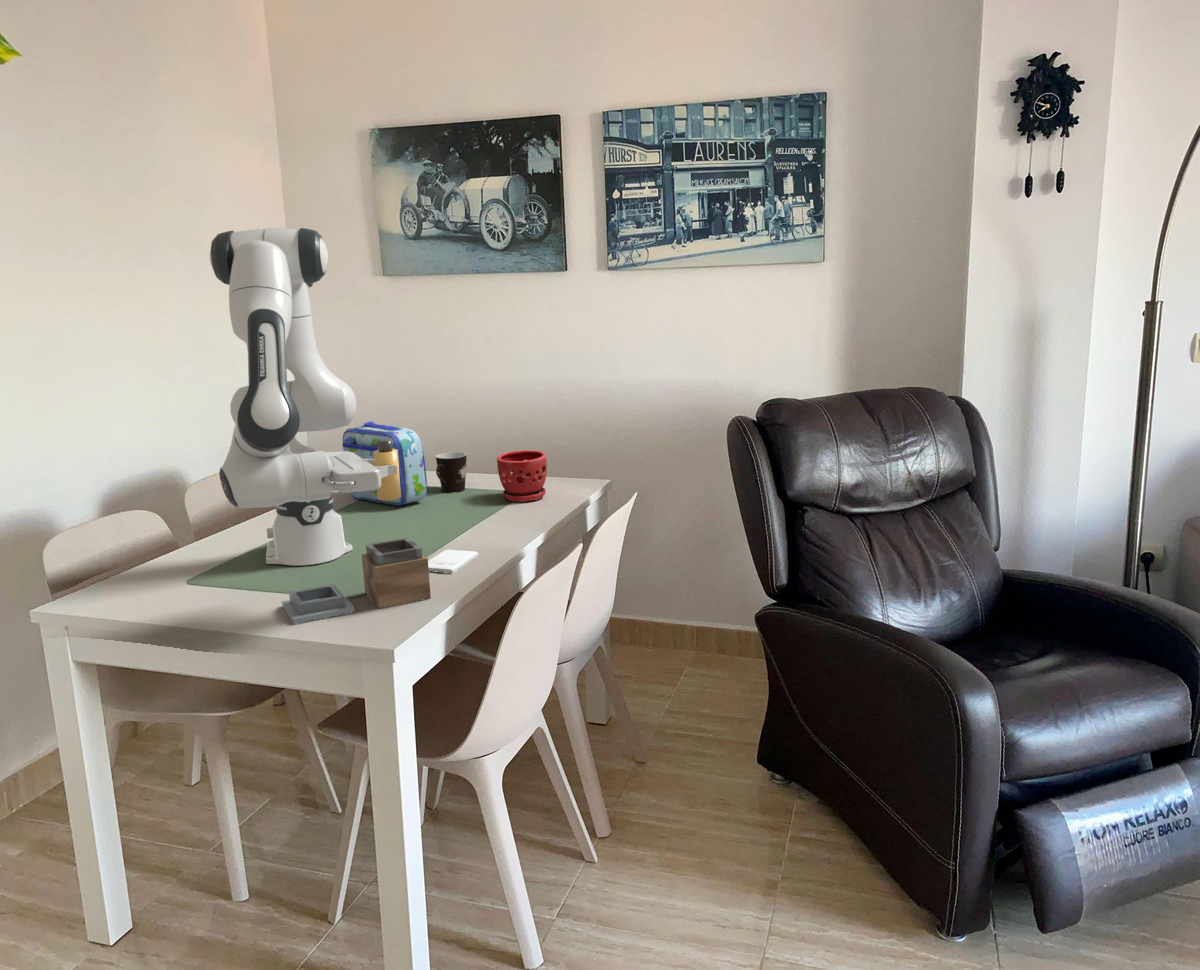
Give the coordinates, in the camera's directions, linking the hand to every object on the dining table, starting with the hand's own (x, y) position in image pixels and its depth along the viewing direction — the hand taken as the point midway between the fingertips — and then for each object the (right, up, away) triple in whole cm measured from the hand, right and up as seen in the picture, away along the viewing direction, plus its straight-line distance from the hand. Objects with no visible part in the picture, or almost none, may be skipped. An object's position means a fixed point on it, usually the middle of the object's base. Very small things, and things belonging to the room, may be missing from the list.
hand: (391, 466), depth 182 cm
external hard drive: (+7, -21, +25) cm, 33 cm away
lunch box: (-19, -8, +81) cm, 83 cm away
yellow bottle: (-1, -6, +1) cm, 6 cm away
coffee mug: (-3, -6, +89) cm, 89 cm away
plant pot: (+19, -7, +78) cm, 81 cm away
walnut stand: (0, -25, +5) cm, 26 cm away
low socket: (-14, -27, -1) cm, 30 cm away
